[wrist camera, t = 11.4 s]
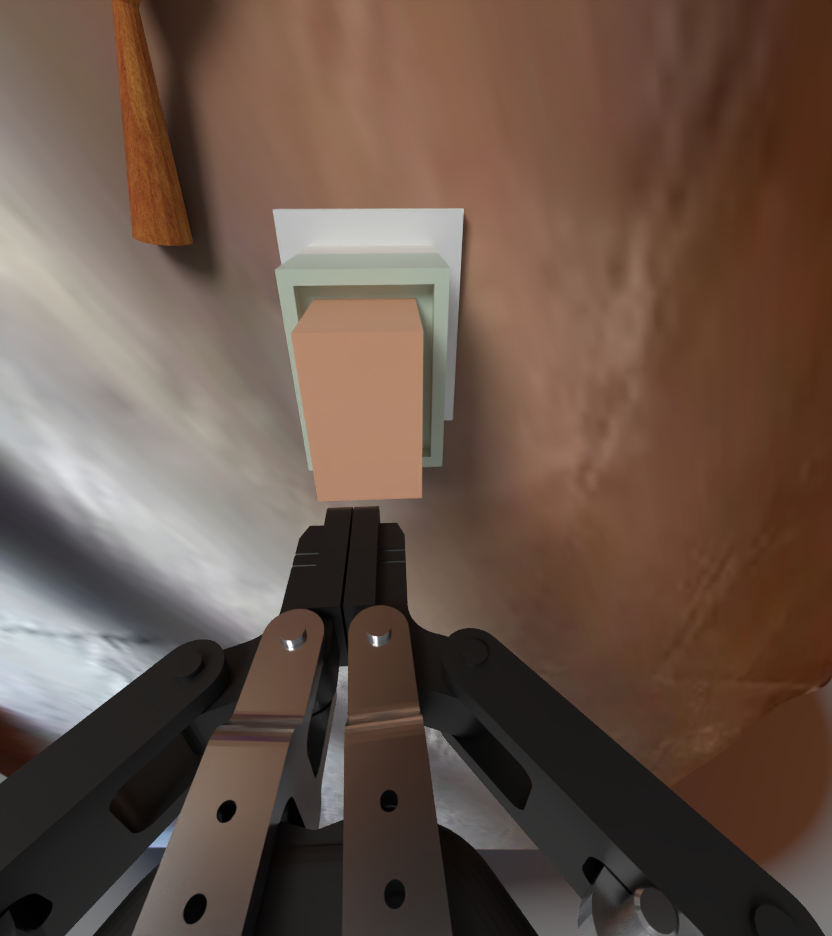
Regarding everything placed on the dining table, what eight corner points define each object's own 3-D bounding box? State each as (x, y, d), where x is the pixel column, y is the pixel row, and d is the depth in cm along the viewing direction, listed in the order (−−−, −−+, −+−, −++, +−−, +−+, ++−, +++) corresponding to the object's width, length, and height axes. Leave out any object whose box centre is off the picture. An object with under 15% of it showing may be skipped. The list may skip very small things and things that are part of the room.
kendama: (80, 234, 24) (-125, -534, 12) (148, 222, 29) (49, -339, 17) (181, 257, 24) (74, -492, 12) (233, 242, 29) (192, -307, 17)
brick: (415, 437, 26) (421, 498, 21) (332, 439, 25) (318, 501, 20) (415, 297, 21) (423, 331, 16) (314, 298, 21) (290, 333, 16)
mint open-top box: (451, 414, 36) (472, 491, 27) (309, 418, 35) (281, 498, 26) (461, 208, 28) (497, 217, 18) (276, 208, 27) (218, 218, 18)
